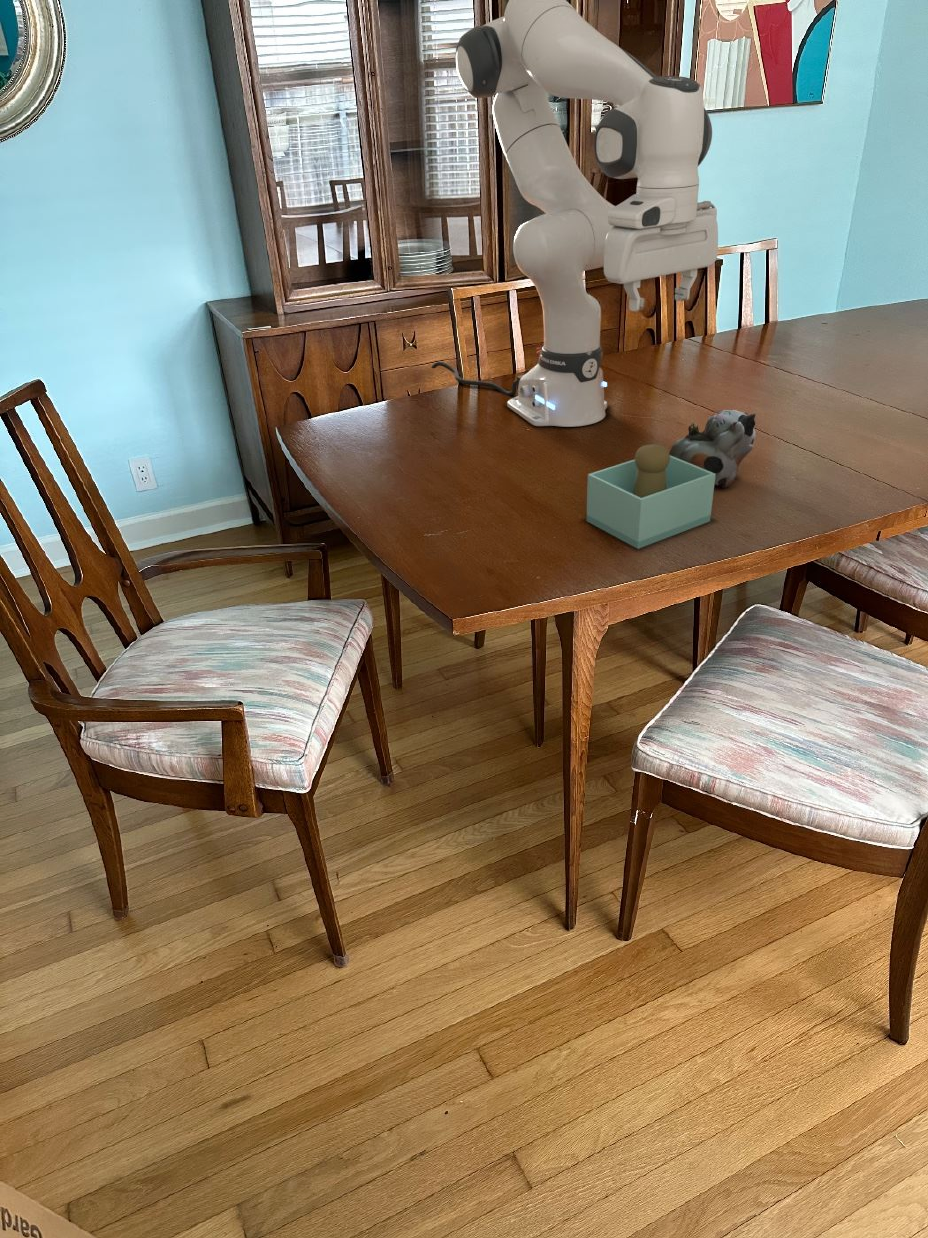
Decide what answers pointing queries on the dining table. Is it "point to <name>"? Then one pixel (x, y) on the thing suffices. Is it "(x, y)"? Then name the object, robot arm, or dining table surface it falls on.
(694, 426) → the lucky cat figurine
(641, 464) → the cork
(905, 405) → the dining table surface
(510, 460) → the dining table surface
